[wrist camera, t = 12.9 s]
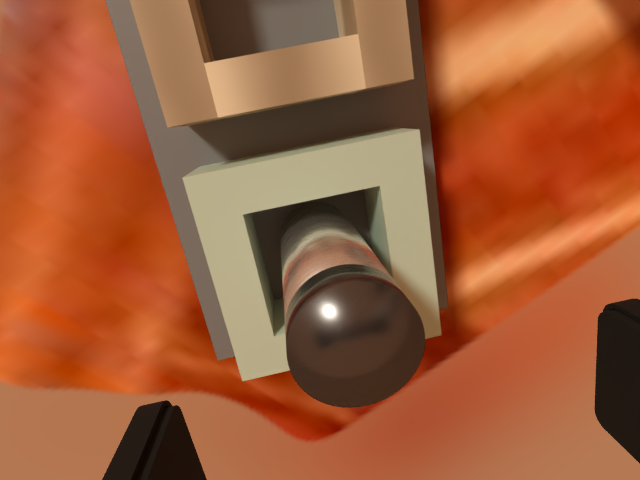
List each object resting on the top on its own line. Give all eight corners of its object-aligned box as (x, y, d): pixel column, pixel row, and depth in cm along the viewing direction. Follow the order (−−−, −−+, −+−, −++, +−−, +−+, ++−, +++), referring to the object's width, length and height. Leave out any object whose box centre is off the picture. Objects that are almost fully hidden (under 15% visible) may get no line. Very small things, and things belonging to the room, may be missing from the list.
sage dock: (392, 127, 21) (419, 129, 17) (414, 300, 24) (441, 335, 20) (199, 166, 20) (182, 177, 16) (247, 337, 23) (242, 381, 19)
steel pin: (346, 195, 21) (416, 269, 11) (358, 263, 23) (432, 389, 12) (272, 210, 21) (272, 301, 11) (288, 279, 22) (302, 420, 12)
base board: (388, -175, 18) (398, -200, 17) (438, 297, 25) (448, 307, 24) (77, -124, 17) (59, -146, 16) (221, 346, 25) (217, 360, 23)
